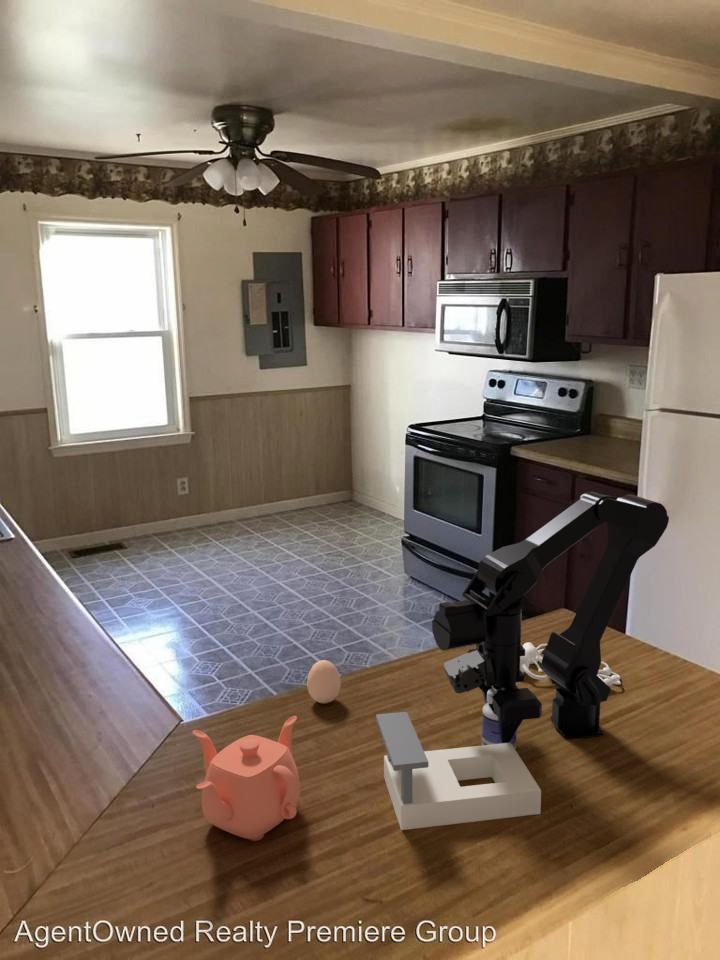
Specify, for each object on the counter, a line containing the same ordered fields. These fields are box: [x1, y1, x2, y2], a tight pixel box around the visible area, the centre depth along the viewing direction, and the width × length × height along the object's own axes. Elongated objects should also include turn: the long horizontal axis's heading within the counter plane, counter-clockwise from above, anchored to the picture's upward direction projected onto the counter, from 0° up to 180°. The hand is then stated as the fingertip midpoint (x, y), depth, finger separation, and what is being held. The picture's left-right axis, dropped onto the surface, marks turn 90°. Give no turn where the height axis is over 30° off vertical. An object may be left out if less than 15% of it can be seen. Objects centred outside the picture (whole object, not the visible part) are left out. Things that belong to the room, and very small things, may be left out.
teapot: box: [192, 715, 301, 842], centre depth 104 cm, size 14×14×11 cm
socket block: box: [375, 711, 542, 831], centre depth 109 cm, size 20×13×10 cm, turn 99°
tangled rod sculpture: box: [520, 641, 622, 688], centre depth 145 cm, size 19×14×4 cm
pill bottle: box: [481, 688, 518, 750], centre depth 121 cm, size 5×5×9 cm
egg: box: [306, 659, 342, 704], centre depth 136 cm, size 6×6×8 cm
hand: (499, 732), depth 121 cm, fingers closed on pill bottle, 5 cm apart
